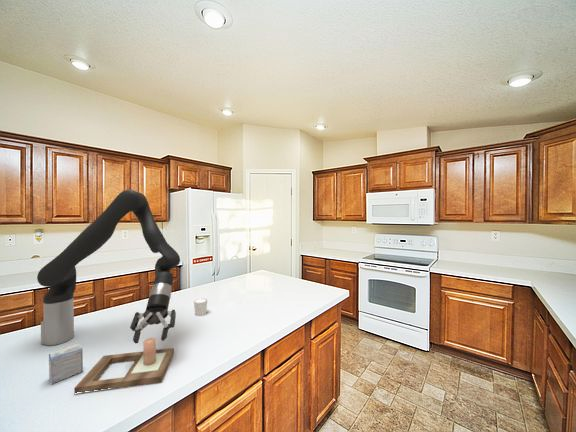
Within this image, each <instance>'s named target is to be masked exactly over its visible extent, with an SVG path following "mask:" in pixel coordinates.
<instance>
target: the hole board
mask: <svg viewBox="0 0 576 432" xmlns="http://www.w3.org/2000/svg"><path fill="white" fill-rule="evenodd" d="M174 354H175V348H174V347H172V348H171V347H170V348H163V349H156V362H155V363H153V364H151V365H144V364H143V351H135V352H126V353H116V354H107V355H102V356H101V358H100V359H99V360H98V361H97V363H96V364H95V365H94V366H92V368H91V369H90V370H89V371H88V372H87V373H86V375H85V376H84V377H83V378H82V379H81V380H80V381H79V382H78V383H77V384H76V386H74V388H73V389H74V394H75V393H77V392H85V391H94V390H101V389H108V388H117V389H120V388H119V387H124V388H129V387H128V386H131V387H138V386H145V385H144V384H146V385H153V384H159V383H162V382H163V380H164V378H165V375H166V373H167V370H168V368H169V366H170V363H171V361H172V359H173V356H174ZM125 361H127V362H133V363H132V364H131V366H130V368H129V369H128V371H127V372H126V374H125V375H124V377H123V376H122V377H115V378H107V379H100V378H101V377H102V376H103V375H102V374H104V373H105V372H106V371H107V370H106V369H108V368H110V366H111V365H112V364H116V362H119V363H126V362H125ZM110 364H111V365H110ZM109 365H110V366H109ZM105 370H106V371H105ZM104 371H105V372H104ZM101 375H102V376H101ZM163 377H164V378H163ZM98 379H99V380H98ZM97 380H98V381H97ZM137 385H138V386H137Z"/></svg>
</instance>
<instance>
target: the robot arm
mask: <svg viewBox="0 0 576 432" xmlns="http://www.w3.org/2000/svg"><path fill="white" fill-rule="evenodd" d="M130 212H132V213H133V215H135V216H136V218H137V220H138V222H139V224H140V226H141V227H140V228H141V233H142V235H143V238H144V240H145V242H146V244H147V246H148V248H149V249H150V251H151V252H152V253H153V254H157V253H158V254H160V255H161V257H159V258H157V261H156V262H155V265H154V279H153V283H152V284H153V285H152V287H151V290H150V291H149V292H150V293H149V297H148V301H147V304H146V306H145V307H146V309H145V310H144V312H138V311H136V312H135V313H134V316H133V319H132V322H131V323H130V324H131V325H130V327H129V328H130V329H131V331H133V332H134V334H133V338H132V342H133V343H134V344H139V340H140V336H141V334H142V333H141V331H143V329H145V328H146V327H148V326H149V325H150V326H153V325H160V324H162V326H163V328H162V331H161V338H160V340H161V342H163V341H165V340H166V339H167V337H168V334H169V333H168V332H169V330H170V329H173V328H175V325H176V317H177V312H176V309H171V310H170V311H169V304H170V300H171V297H172V288H173V287H172V286H173V282H174V275H173V273H172V272H171V270H173V269H174V268H176V267H177V266H179V264H180V262H181V257H180V255H179V253H178V252H177V251H176V250H175V249H174V248H173V247H172V246H171V244H169V243H168V242H167V240H166V238H165V237H164V235H163V233H162V232H161V229H160V228H159V225H158V224H157V222H156V220H155V217H154V215H153V213H152V209H151V208H150V205H149V202H148V199H147V197H146V195H144V194H143V193H141V192H138V191H136V190H133V189H126V190H122V191H121V192H120V193H118V195H116V197H115V198H114V199H113V200H112V202H111V203H110V204H109V205H108V206H107V208H106V209H105V210H103V212H102V213H101V214H99V216H98V217H96V218H95V219H94V220H93V222H91V223H90V224H89V225H88V226H87V227H86V228H84V229H83V230H82V231H81V232H80V233H79V235H78V236H77V237H75V238H74V239H73V241H72V242H70V244H68V245H67V247H65V249H63V250H62V252H61V253H59V254H58V255H57V256H55V257H54V258H53V259H51V260H50V261H49V262H48V263H47V264H45V265H44V266H43V267H41V268H40V270H39V271H38V273H37V276H36V281H37V283H38V284H39V285H40V286H42V287H46V288H49V289H48V290H47V291H46V293H45V294H44V295H43V298H42V303H43V308H42V309H43V320H42V321H40V345H42V346H43V345H44V346H50V347H51V346H56V345H60V344H64V343H66V342H68V341H70V340H71V339H74V337H75V311H74V310H75V307H74V298H75V297H74V294H75V292H76V289H77V269H76V266H77V265H78V264H79V263H80V262H82V261H84V260H85V259H86V258H88V257H89V256H91V255H92V254H94V253H96V252H97V251H99V249H101V248H102V247H103V246H104V245H105V244H106V243H107V242H108V241H109V240H110V239H111V238H112V237H113V235H114V233H115V230H116V228H117V226H118V224H119V222H120V221H121V220H122V219H123V218H124V217H125V216H127V215H128V214H129V213H130ZM168 316H169V317H170V321H169V323H167V322H166V320H165V319H166V318H167V317H168ZM142 318H143V319H142ZM141 319H142V320H141ZM140 320H141V321H140Z"/></svg>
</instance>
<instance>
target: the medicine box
mask: <svg viewBox="0 0 576 432" xmlns="http://www.w3.org/2000/svg"><path fill="white" fill-rule="evenodd" d="M83 352H84V350H83V346H82V345H81V343H75V344H74V345H70V346H67V347H64V348H61V349H58V350H56V351H52V352H49V353H48V371H49V372H48V374H49V375H48V377H49V382H50V385H51V384H52V385H53V383H54V384H56V383H55V382H57V383H59V382H61V381H63V379H64V380H66V379H68V378H67V377H69V378H71V377H73V376H72V375H74V376H76V375H78V374H77V373H79V374H81V373H83V372H84V355H83V354H84V353H83ZM82 371H83V372H82ZM80 372H81V373H80ZM75 374H76V375H75ZM70 376H71V377H70ZM65 378H66V379H65ZM60 380H61V381H60ZM58 381H59V382H58Z"/></svg>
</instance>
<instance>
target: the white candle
mask: <svg viewBox="0 0 576 432" xmlns="http://www.w3.org/2000/svg"><path fill="white" fill-rule="evenodd" d="M193 306H194V315H195V316H196V317H197V316H198V317H200V316H201V317H202V316H204V315H206V314H207V309H208V299H207V298H197V299H195V300H194V301H193Z"/></svg>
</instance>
